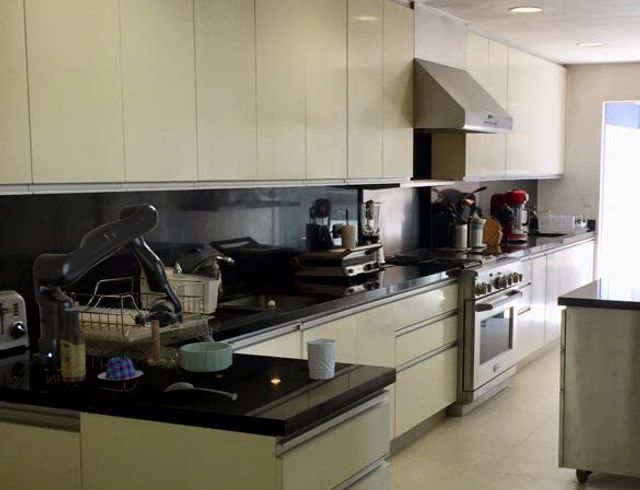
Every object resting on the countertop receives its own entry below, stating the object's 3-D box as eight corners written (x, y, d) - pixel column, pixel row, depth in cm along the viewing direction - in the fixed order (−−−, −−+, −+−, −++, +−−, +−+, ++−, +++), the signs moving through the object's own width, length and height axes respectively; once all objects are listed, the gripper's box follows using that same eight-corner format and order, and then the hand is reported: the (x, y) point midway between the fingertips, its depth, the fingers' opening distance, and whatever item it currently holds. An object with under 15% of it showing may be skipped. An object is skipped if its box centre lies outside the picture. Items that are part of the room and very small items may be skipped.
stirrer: (156, 366, 270) (154, 322, 268) (143, 365, 273) (141, 321, 271) (169, 363, 274) (167, 320, 273) (157, 361, 277) (155, 318, 275)
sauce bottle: (58, 380, 254) (54, 308, 251) (81, 377, 258) (77, 306, 255) (67, 384, 249) (62, 311, 246) (90, 381, 253) (86, 309, 250)
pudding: (122, 370, 265) (121, 352, 264) (152, 375, 259) (151, 356, 258) (88, 379, 255) (87, 360, 254) (118, 384, 249) (117, 365, 248)
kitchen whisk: (207, 356, 283) (206, 336, 282) (190, 338, 314) (190, 320, 313) (227, 355, 285) (226, 334, 284) (209, 337, 316) (208, 318, 316)
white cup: (340, 374, 257) (339, 339, 256) (330, 381, 250) (329, 344, 249) (314, 373, 260) (313, 338, 258) (303, 379, 252) (302, 343, 251)
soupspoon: (176, 391, 244) (159, 397, 238) (175, 378, 243) (157, 385, 237) (243, 396, 233) (226, 404, 228) (242, 383, 233) (225, 390, 227)
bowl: (207, 375, 259) (206, 353, 258) (169, 369, 266) (168, 348, 265) (242, 365, 271) (242, 344, 270) (206, 360, 279) (205, 340, 278)
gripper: (138, 303, 295) (132, 310, 279) (184, 301, 298) (181, 309, 282) (139, 326, 296) (133, 335, 280) (185, 324, 299) (182, 333, 283)
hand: (157, 322), depth 281 cm, fingers open, 8 cm apart
